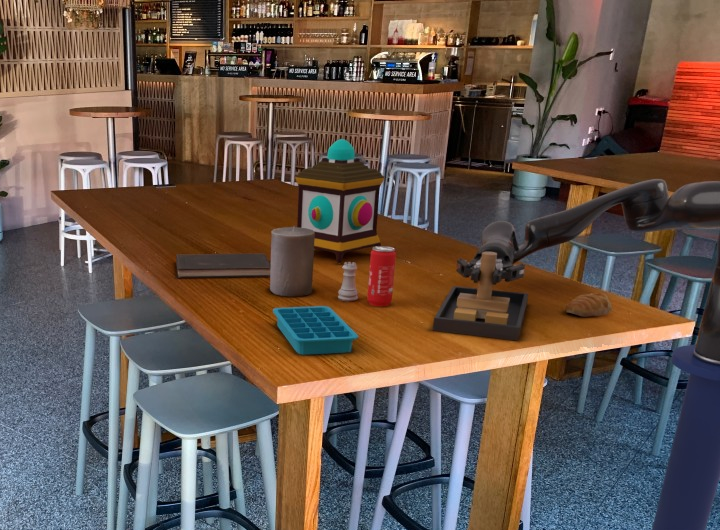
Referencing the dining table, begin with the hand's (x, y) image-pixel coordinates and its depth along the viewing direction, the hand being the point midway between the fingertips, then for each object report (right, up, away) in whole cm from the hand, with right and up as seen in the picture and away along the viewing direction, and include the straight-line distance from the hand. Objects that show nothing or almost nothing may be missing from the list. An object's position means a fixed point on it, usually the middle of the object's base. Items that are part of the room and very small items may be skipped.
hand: (484, 278), depth 153 cm
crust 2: (+3, -9, +2) cm, 9 cm away
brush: (+1, -7, +6) cm, 9 cm away
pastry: (+25, -6, +11) cm, 28 cm away
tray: (+2, -7, +8) cm, 11 cm away
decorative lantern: (-19, +15, +61) cm, 66 cm away
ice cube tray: (-34, -12, -3) cm, 36 cm away
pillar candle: (-35, 0, +27) cm, 44 cm away
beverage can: (-17, -3, +17) cm, 24 cm away
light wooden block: (-3, -8, +4) cm, 9 cm away
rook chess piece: (-23, -2, +21) cm, 31 cm away
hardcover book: (-50, +8, +46) cm, 68 cm away
